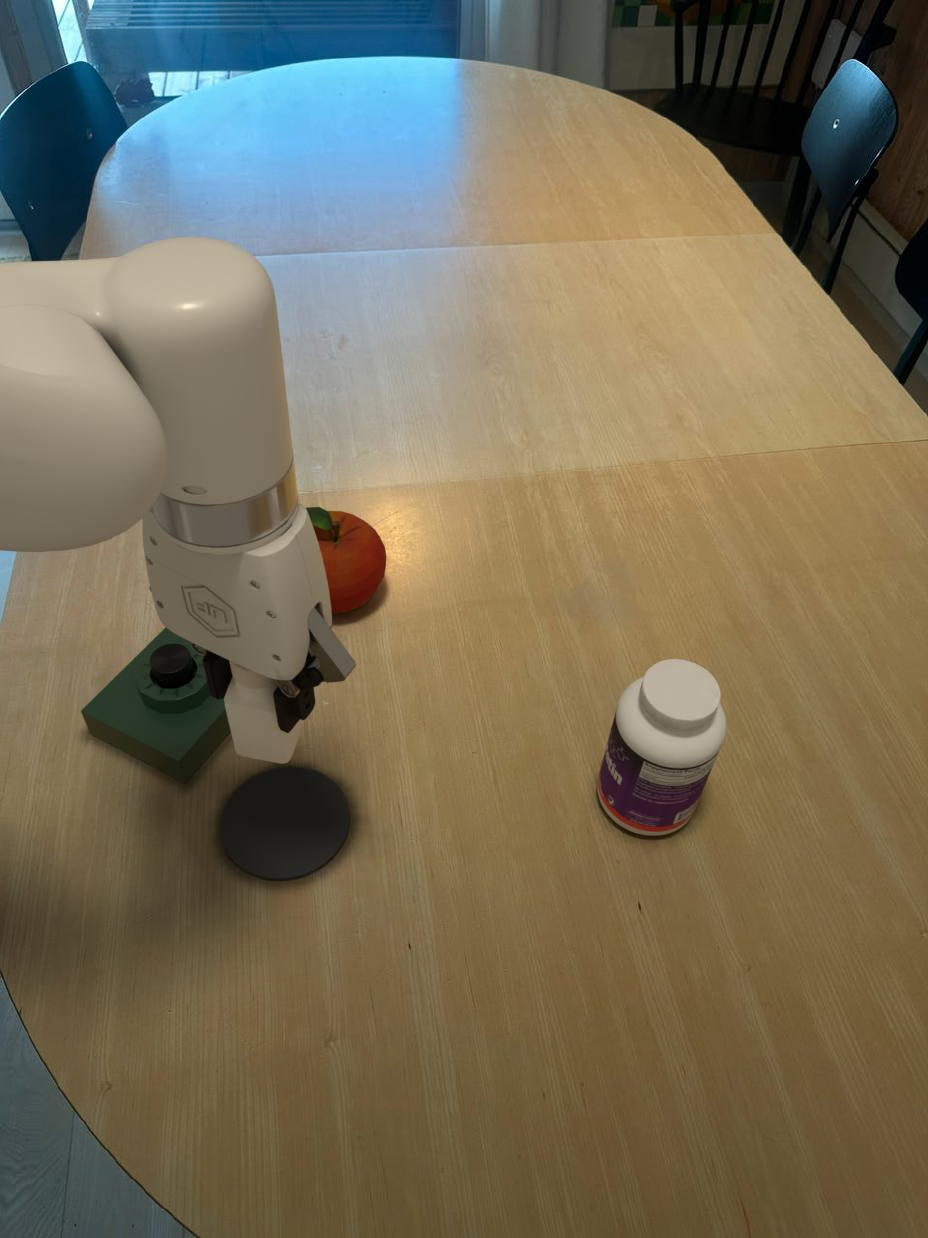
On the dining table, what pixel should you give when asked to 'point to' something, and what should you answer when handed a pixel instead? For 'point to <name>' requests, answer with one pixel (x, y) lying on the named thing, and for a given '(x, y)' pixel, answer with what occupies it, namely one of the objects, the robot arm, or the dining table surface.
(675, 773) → the pill bottle
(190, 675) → the black push button
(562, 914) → the dining table surface
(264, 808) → the coaster
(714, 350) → the dining table surface
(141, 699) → the green square nut
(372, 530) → the fruit
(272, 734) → the salt shaker
